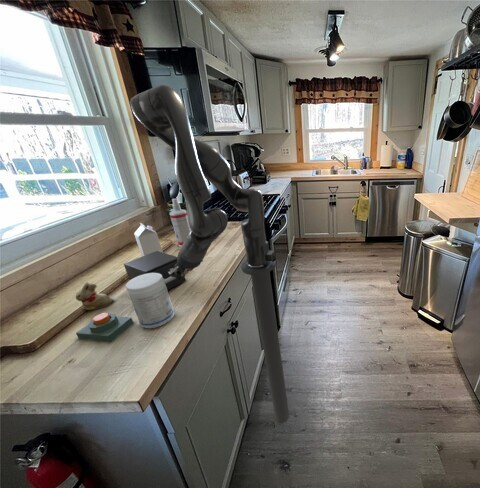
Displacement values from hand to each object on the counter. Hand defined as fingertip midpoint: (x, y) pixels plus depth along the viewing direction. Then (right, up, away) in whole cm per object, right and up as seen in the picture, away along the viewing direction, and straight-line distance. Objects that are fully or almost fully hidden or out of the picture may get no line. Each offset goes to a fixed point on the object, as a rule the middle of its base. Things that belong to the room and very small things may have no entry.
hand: (179, 277), depth 95 cm
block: (-13, -14, -16) cm, 25 cm away
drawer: (-9, -3, +5) cm, 11 cm away
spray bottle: (-21, +12, +45) cm, 51 cm away
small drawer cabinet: (-12, -4, +7) cm, 15 cm away
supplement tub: (0, -12, -12) cm, 17 cm away
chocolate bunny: (-26, -10, -4) cm, 28 cm away
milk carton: (-25, +3, +25) cm, 36 cm away
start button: (-13, -11, -18) cm, 25 cm away
